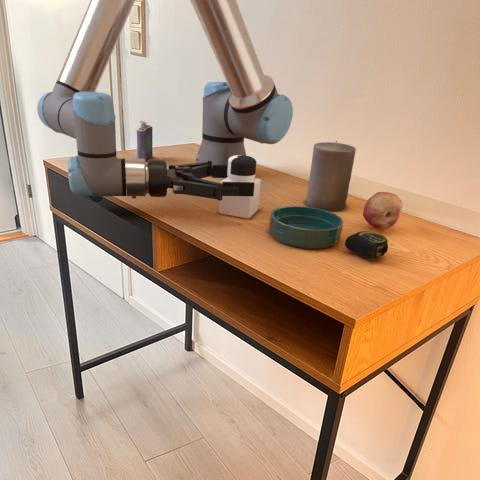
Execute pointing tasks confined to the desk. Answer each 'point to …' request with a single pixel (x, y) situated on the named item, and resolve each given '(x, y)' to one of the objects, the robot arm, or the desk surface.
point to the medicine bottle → (241, 171)
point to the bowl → (305, 227)
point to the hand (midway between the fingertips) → (247, 180)
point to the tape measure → (367, 244)
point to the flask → (144, 142)
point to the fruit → (382, 210)
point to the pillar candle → (330, 175)
